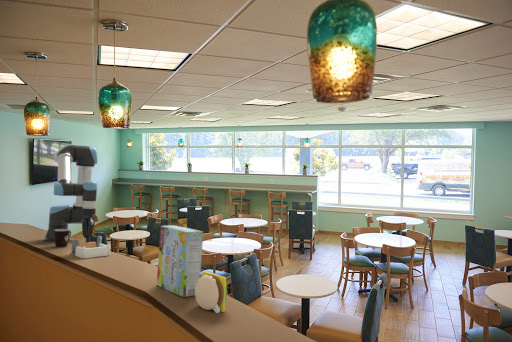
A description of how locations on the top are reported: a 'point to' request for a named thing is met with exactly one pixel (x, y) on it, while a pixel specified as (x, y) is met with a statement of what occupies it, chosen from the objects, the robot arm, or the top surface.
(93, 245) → the gate
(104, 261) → the top surface
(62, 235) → the coffee mug
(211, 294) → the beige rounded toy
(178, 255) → the snack box
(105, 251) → the paddock fence
